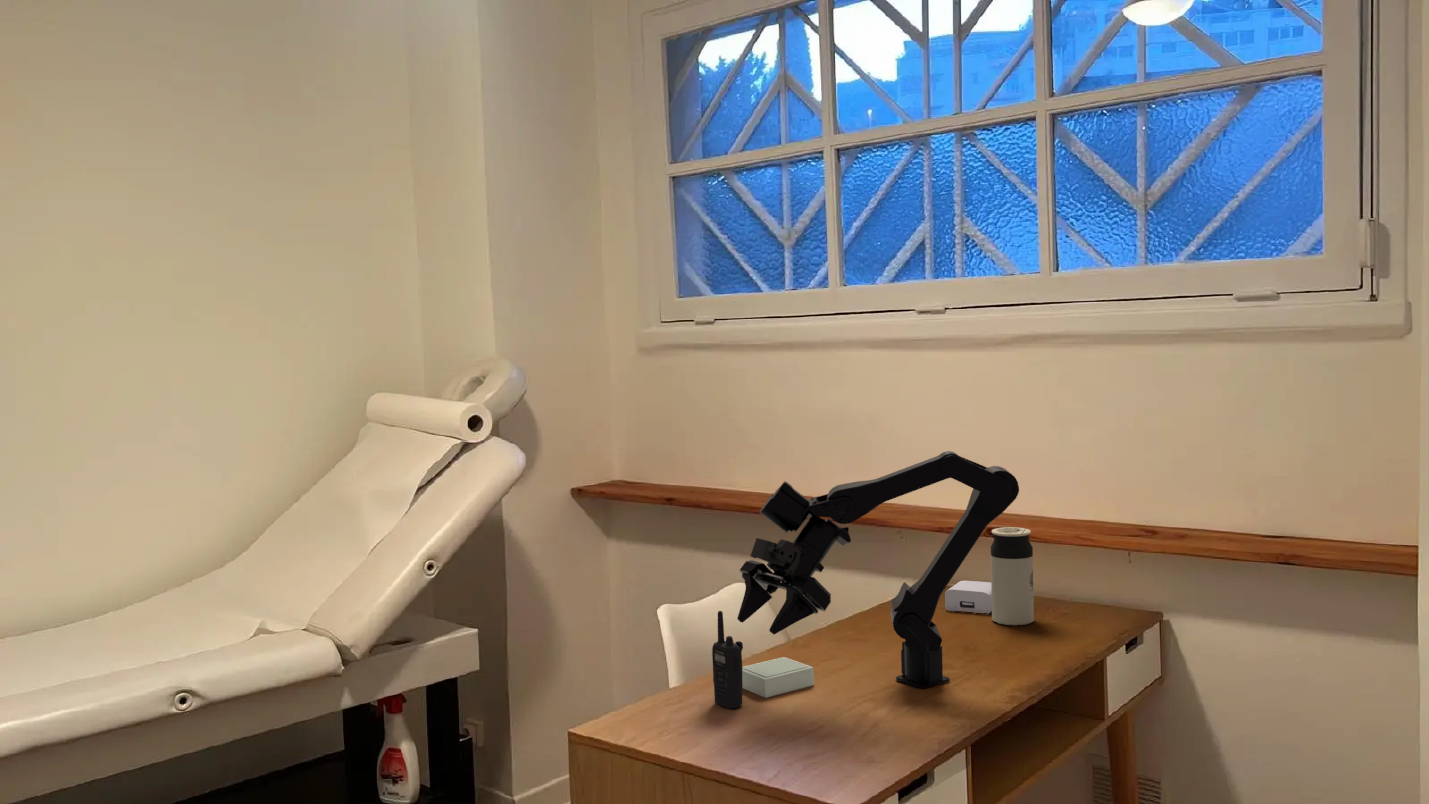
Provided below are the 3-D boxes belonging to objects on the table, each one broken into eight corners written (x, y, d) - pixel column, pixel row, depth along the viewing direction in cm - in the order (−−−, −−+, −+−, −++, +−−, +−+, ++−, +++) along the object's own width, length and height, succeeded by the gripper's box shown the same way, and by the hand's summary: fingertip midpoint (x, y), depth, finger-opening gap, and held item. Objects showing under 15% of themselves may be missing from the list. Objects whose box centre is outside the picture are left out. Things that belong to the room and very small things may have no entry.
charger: (1009, 599, 246) (989, 615, 233) (966, 595, 251) (945, 611, 238) (1009, 577, 246) (989, 592, 233) (966, 573, 251) (944, 589, 238)
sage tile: (814, 685, 192) (813, 666, 192) (765, 697, 187) (765, 678, 186) (784, 674, 199) (784, 656, 199) (737, 685, 193) (736, 667, 193)
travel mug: (986, 623, 227) (984, 532, 225) (999, 614, 233) (997, 525, 232) (1026, 628, 222) (1025, 535, 221) (1038, 618, 229) (1037, 528, 228)
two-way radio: (709, 703, 185) (706, 610, 184) (732, 697, 188) (728, 605, 187) (731, 711, 180) (727, 616, 179) (753, 705, 183) (750, 611, 182)
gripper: (747, 512, 196) (693, 586, 191) (814, 527, 180) (757, 608, 175) (787, 552, 200) (735, 626, 195) (855, 570, 184) (800, 650, 179)
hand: (755, 626), depth 186 cm, fingers open, 9 cm apart
